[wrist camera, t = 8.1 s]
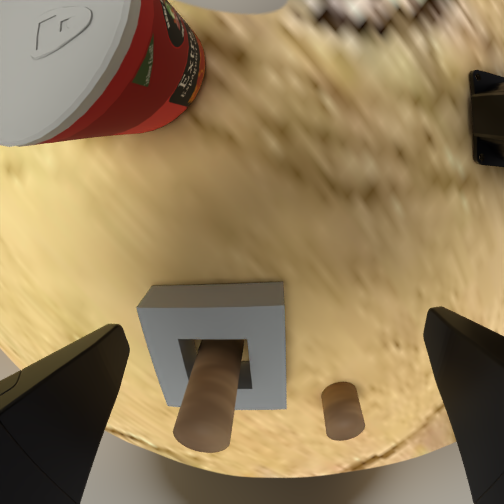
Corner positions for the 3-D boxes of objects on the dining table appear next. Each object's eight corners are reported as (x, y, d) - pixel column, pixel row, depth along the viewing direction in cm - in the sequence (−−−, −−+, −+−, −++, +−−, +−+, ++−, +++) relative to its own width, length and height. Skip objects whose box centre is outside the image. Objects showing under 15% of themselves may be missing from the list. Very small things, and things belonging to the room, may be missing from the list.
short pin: (358, 380, 24) (368, 415, 20) (353, 403, 25) (361, 437, 21) (322, 383, 24) (328, 420, 20) (320, 406, 25) (324, 442, 21)
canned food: (224, 107, 17) (160, 76, 7) (107, 152, 18) (-22, 186, 8) (190, 1, 14) (115, -95, 4) (81, 53, 16) (-42, 26, 6)
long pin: (242, 322, 22) (226, 422, 14) (245, 355, 23) (233, 454, 15) (200, 322, 22) (166, 418, 14) (206, 355, 23) (180, 450, 15)
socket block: (283, 281, 21) (284, 305, 18) (285, 381, 24) (286, 409, 21) (151, 285, 21) (136, 307, 19) (176, 380, 25) (167, 406, 22)
